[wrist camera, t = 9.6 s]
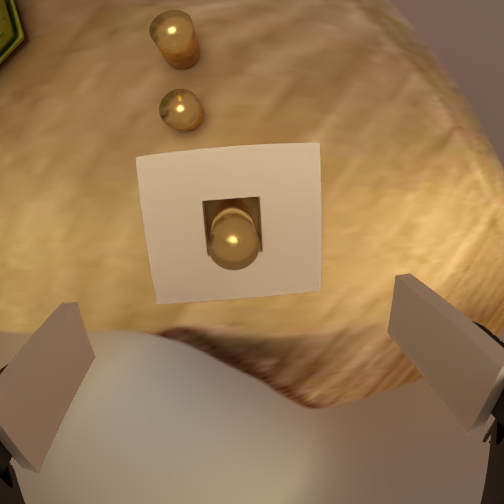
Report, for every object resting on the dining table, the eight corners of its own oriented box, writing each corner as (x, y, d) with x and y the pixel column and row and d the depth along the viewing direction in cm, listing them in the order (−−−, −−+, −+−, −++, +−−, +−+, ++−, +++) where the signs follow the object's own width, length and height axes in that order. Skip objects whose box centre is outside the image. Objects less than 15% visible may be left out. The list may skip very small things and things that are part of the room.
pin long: (216, 231, 33) (210, 272, 22) (213, 198, 32) (205, 222, 21) (249, 228, 34) (261, 268, 22) (247, 195, 32) (258, 218, 21)
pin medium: (167, 71, 28) (149, 48, 20) (167, 42, 27) (150, 13, 19) (201, 67, 28) (192, 41, 20) (200, 38, 27) (192, 7, 19)
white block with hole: (167, 280, 35) (157, 304, 29) (151, 156, 30) (135, 157, 25) (306, 269, 36) (320, 290, 30) (303, 144, 31) (319, 142, 25)
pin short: (170, 133, 30) (160, 129, 25) (168, 100, 29) (158, 92, 24) (204, 129, 30) (200, 124, 25) (202, 96, 29) (198, 86, 24)
